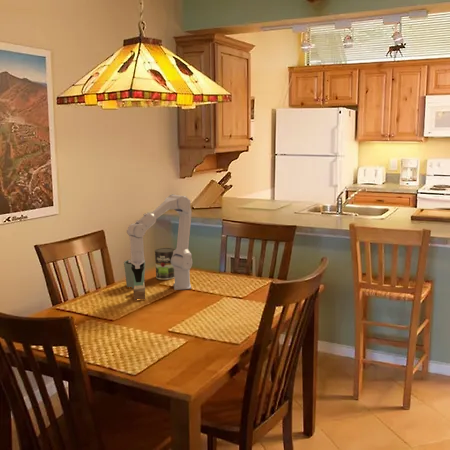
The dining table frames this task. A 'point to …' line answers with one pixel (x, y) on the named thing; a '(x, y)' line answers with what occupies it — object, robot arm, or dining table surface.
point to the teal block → (138, 282)
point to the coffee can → (164, 263)
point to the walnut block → (139, 293)
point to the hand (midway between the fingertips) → (138, 280)
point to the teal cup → (131, 274)
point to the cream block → (140, 286)
